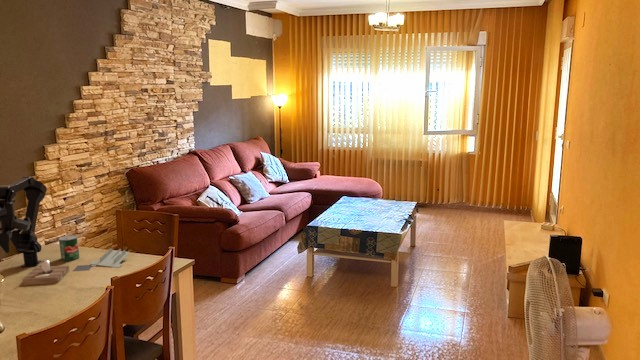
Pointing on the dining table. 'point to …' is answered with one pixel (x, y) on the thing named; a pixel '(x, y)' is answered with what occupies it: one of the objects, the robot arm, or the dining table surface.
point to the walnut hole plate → (46, 275)
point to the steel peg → (45, 267)
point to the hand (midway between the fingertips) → (11, 249)
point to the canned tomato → (69, 248)
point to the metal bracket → (111, 259)
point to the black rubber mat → (82, 268)
